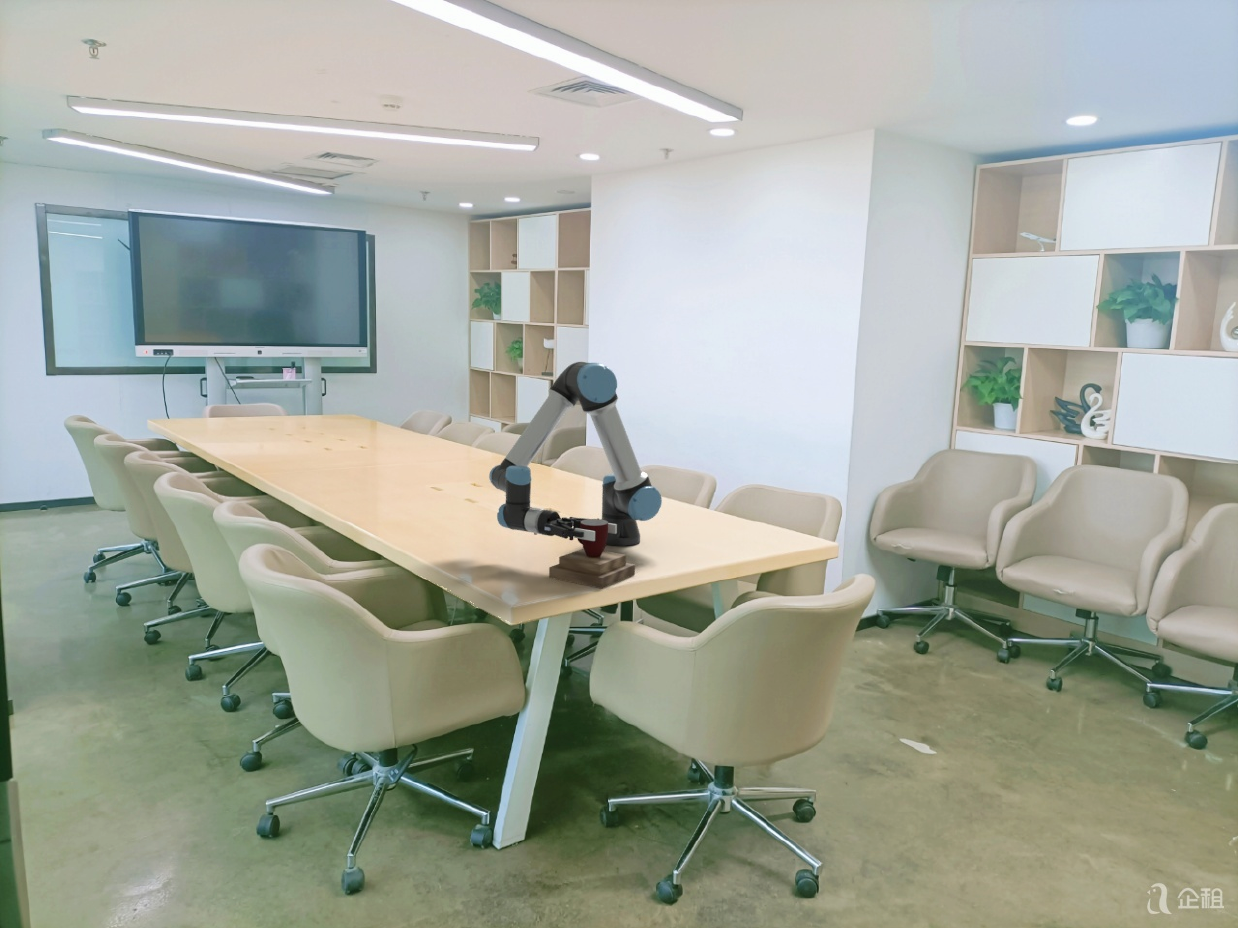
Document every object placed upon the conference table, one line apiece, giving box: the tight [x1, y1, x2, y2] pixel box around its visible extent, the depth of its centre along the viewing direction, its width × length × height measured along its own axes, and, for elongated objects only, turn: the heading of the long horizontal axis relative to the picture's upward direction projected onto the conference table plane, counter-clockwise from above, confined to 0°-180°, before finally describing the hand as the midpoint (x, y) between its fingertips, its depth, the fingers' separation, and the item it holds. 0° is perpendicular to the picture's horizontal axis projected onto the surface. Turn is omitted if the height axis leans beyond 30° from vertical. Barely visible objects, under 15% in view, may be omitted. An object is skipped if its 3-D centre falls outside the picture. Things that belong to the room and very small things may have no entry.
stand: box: [548, 548, 636, 589], centre depth 251 cm, size 18×18×6 cm
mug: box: [576, 518, 608, 557], centre depth 250 cm, size 11×8×10 cm
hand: (605, 532), depth 247 cm, fingers open, 11 cm apart
